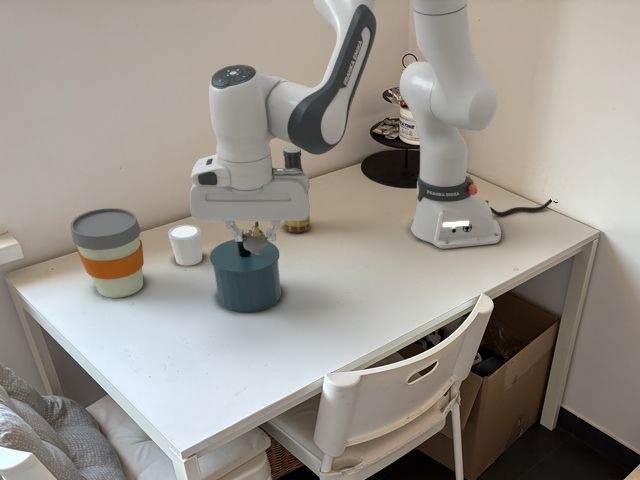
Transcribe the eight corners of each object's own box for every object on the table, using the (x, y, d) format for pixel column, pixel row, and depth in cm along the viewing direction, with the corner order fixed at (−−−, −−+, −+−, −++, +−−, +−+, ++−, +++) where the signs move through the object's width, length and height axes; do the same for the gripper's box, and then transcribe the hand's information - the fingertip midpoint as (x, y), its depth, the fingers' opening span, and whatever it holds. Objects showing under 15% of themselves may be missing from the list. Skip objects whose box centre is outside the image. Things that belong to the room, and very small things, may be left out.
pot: (283, 279, 155) (279, 241, 149) (278, 312, 145) (274, 272, 139) (223, 279, 153) (217, 241, 147) (214, 312, 143) (208, 272, 138)
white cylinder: (211, 257, 160) (207, 230, 156) (188, 270, 155) (183, 242, 151) (189, 248, 163) (184, 221, 158) (166, 260, 158) (160, 232, 154)
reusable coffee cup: (165, 283, 151) (151, 219, 142) (114, 309, 142) (96, 243, 133) (126, 264, 156) (110, 201, 146) (74, 288, 147) (54, 223, 138)
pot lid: (282, 242, 150) (280, 220, 147) (276, 276, 139) (274, 254, 136) (215, 242, 148) (212, 220, 145) (205, 276, 137) (201, 254, 134)
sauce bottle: (305, 235, 171) (300, 157, 159) (280, 232, 171) (273, 153, 159) (313, 223, 176) (309, 146, 164) (289, 220, 176) (283, 143, 164)
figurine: (258, 259, 127) (254, 230, 124) (238, 253, 129) (233, 224, 125) (275, 246, 131) (271, 217, 127) (254, 241, 132) (251, 212, 129)
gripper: (308, 160, 124) (314, 230, 132) (187, 160, 121) (201, 231, 130) (307, 176, 119) (312, 248, 127) (181, 176, 116) (195, 249, 125)
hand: (255, 239), depth 129 cm, fingers closed on figurine, 4 cm apart
